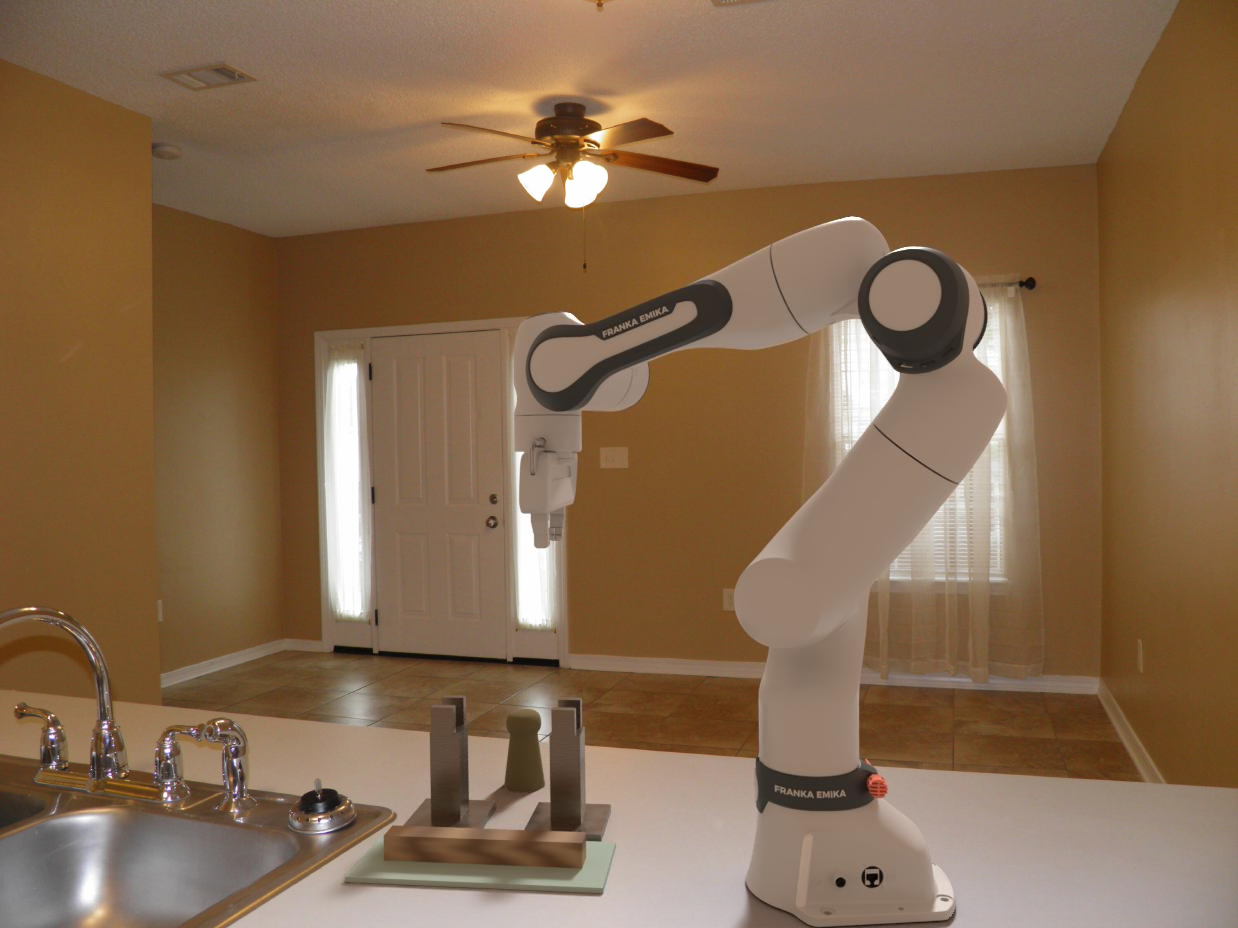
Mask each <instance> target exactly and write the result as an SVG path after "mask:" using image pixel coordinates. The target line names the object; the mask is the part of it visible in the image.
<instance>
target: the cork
mask: <svg viewBox="0 0 1238 928" xmlns="http://www.w3.org/2000/svg"><path fill="white" fill-rule="evenodd" d="M505 720H506V723H505V725H506V726H505V727H506V730H507V732H508V733H509V742H508V749H507V750H508V751H507V758H506V765H505V766H506V767H505V776H504V785H503V787H504V788H505V790H508V791H510V792H515V793H530V792H535V791H539V790H541V789H542V788H544V787H545V786H546V781H545V776H544V768H543V767H544V766H543V762H542V755H541V748H540V740H539V734H538V733H539V732H540V730H541V728H542V717H541V715H540V713H539V712H538V711H537V710H535V709H531V708H519V709H515V710H512V711H511V712H509V713H508V715H507V716H506V719H505Z"/></svg>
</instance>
